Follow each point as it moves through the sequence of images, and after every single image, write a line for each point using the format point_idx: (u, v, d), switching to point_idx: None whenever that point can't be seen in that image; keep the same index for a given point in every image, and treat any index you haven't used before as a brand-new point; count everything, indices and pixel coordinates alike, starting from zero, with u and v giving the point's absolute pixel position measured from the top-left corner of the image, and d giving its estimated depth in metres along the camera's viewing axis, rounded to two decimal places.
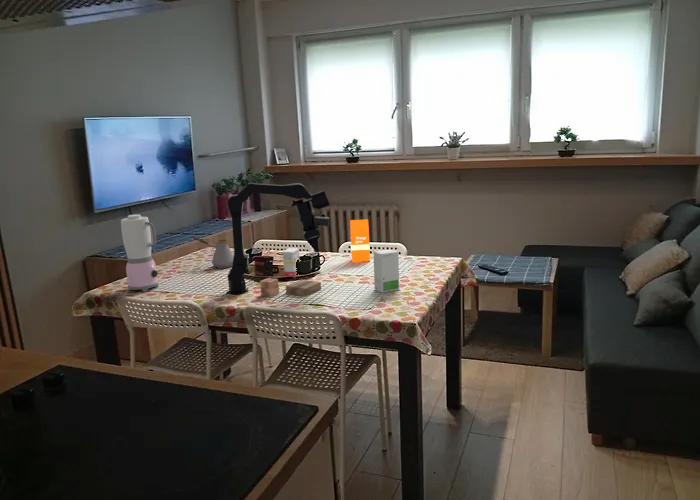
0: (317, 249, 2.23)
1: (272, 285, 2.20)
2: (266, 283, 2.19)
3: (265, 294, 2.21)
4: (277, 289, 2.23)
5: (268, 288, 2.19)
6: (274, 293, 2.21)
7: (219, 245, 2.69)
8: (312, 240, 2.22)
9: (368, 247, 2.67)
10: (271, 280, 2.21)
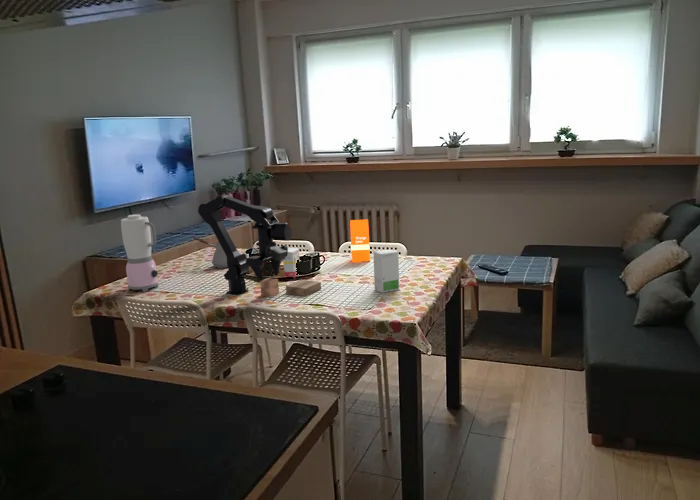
0: (260, 278, 2.17)
1: (272, 285, 2.20)
2: (266, 283, 2.19)
3: (265, 294, 2.21)
4: (277, 289, 2.23)
5: (268, 288, 2.19)
6: (274, 293, 2.21)
7: (219, 245, 2.69)
8: (256, 268, 2.16)
9: (368, 247, 2.67)
10: (271, 280, 2.21)
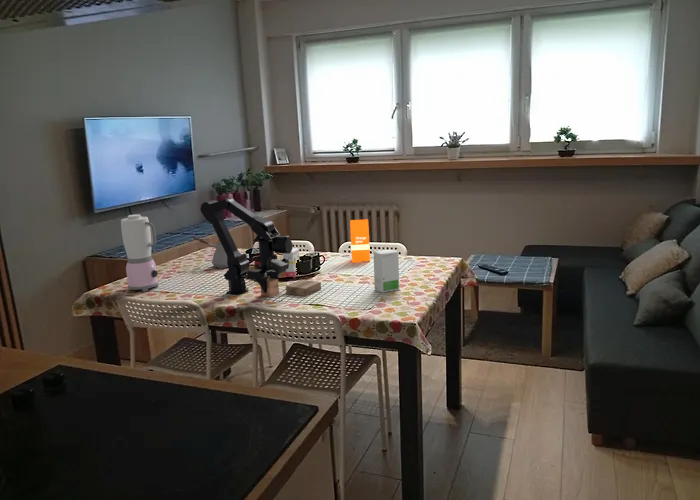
0: (264, 290, 2.20)
1: (272, 285, 2.20)
2: None
3: (265, 294, 2.21)
4: (277, 289, 2.23)
5: (268, 288, 2.19)
6: (274, 293, 2.21)
7: (219, 245, 2.69)
8: (261, 279, 2.19)
9: (368, 247, 2.67)
10: (271, 280, 2.21)
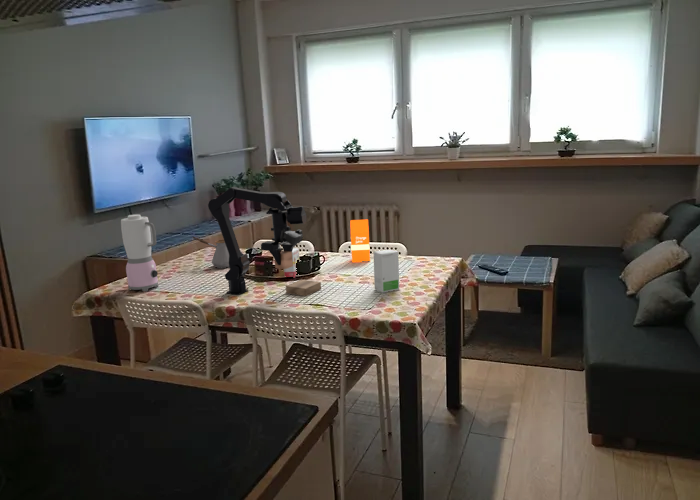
0: (278, 262, 2.18)
1: (286, 257, 2.18)
2: None
3: (279, 266, 2.19)
4: (291, 261, 2.21)
5: (282, 260, 2.18)
6: (288, 265, 2.19)
7: (219, 245, 2.69)
8: (275, 252, 2.17)
9: (368, 247, 2.67)
10: (285, 252, 2.19)
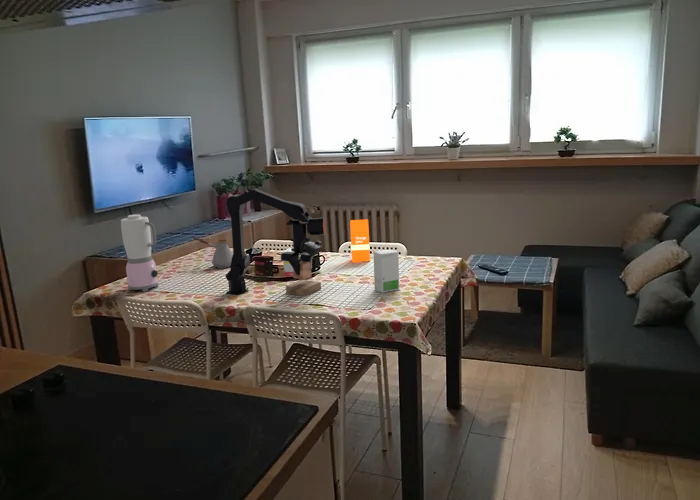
0: (297, 272, 2.20)
1: (305, 267, 2.21)
2: None
3: (298, 277, 2.22)
4: (309, 272, 2.23)
5: (301, 270, 2.20)
6: (307, 276, 2.22)
7: (219, 245, 2.69)
8: (294, 262, 2.19)
9: (368, 247, 2.67)
10: (304, 263, 2.22)
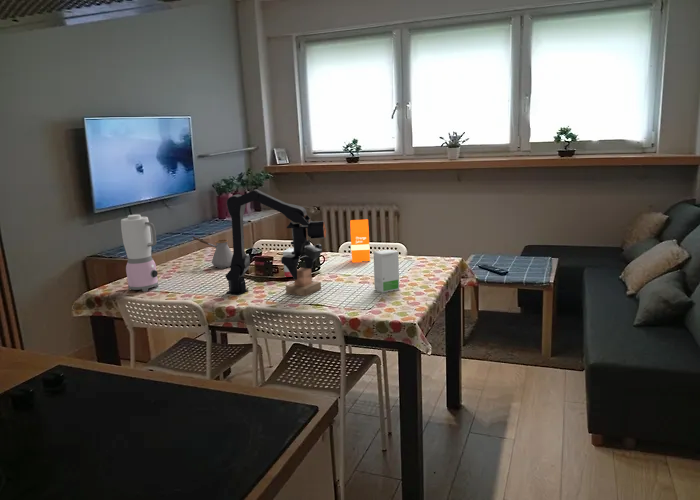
0: (295, 277, 2.19)
1: (306, 274, 2.21)
2: (300, 272, 2.21)
3: (298, 283, 2.22)
4: (310, 278, 2.24)
5: (302, 277, 2.21)
6: (307, 282, 2.23)
7: (219, 245, 2.69)
8: (291, 266, 2.18)
9: (368, 247, 2.67)
10: (304, 269, 2.22)
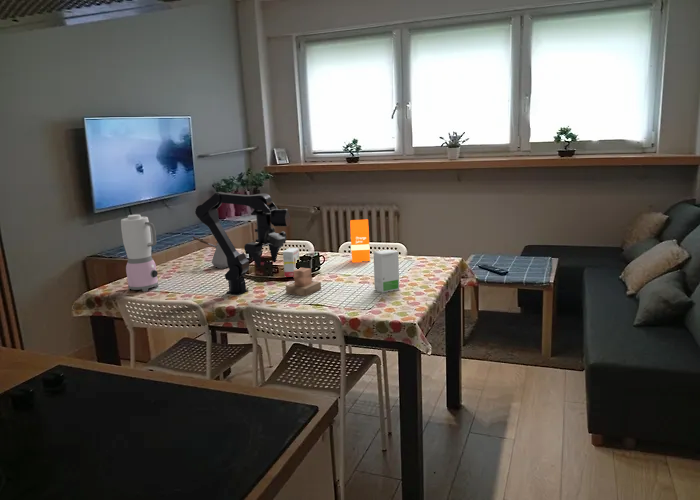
0: (258, 264, 2.18)
1: (306, 274, 2.21)
2: (300, 272, 2.21)
3: (298, 283, 2.22)
4: (310, 278, 2.24)
5: (302, 277, 2.21)
6: (307, 282, 2.23)
7: (219, 245, 2.69)
8: (255, 254, 2.17)
9: (368, 247, 2.67)
10: (304, 269, 2.22)
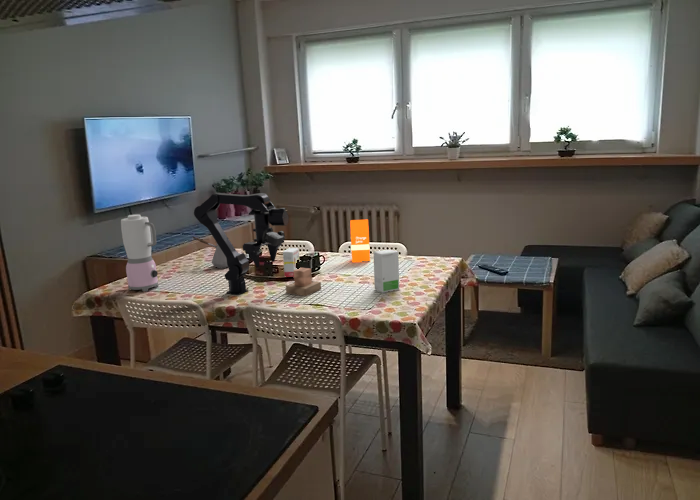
0: (257, 264, 2.18)
1: (306, 274, 2.21)
2: (300, 272, 2.21)
3: (298, 283, 2.22)
4: (310, 278, 2.24)
5: (302, 277, 2.21)
6: (307, 282, 2.23)
7: None
8: (253, 253, 2.17)
9: (368, 247, 2.67)
10: (304, 269, 2.22)
